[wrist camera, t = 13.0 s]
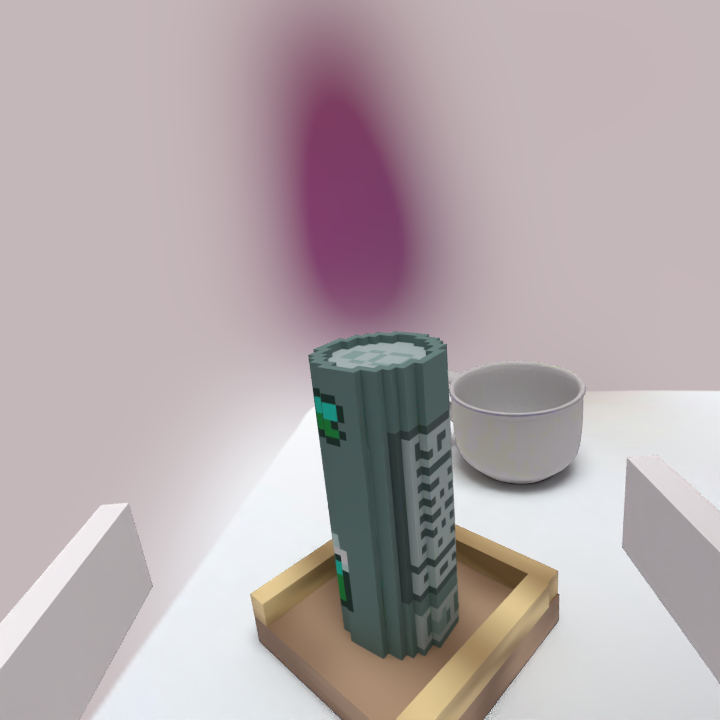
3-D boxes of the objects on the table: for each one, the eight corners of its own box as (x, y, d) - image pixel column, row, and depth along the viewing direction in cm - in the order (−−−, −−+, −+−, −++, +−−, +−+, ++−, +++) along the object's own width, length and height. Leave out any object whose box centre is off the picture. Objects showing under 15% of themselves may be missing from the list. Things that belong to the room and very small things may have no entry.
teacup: (608, 467, 44) (613, 378, 41) (524, 518, 38) (524, 419, 36) (484, 419, 55) (482, 347, 52) (405, 453, 49) (399, 374, 47)
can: (385, 559, 32) (363, 328, 28) (475, 596, 29) (466, 337, 24) (322, 624, 28) (283, 361, 23) (419, 678, 24) (395, 379, 20)
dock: (398, 536, 37) (394, 497, 36) (558, 620, 29) (559, 571, 28) (259, 641, 29) (250, 593, 28) (424, 797, 21) (418, 738, 20)
